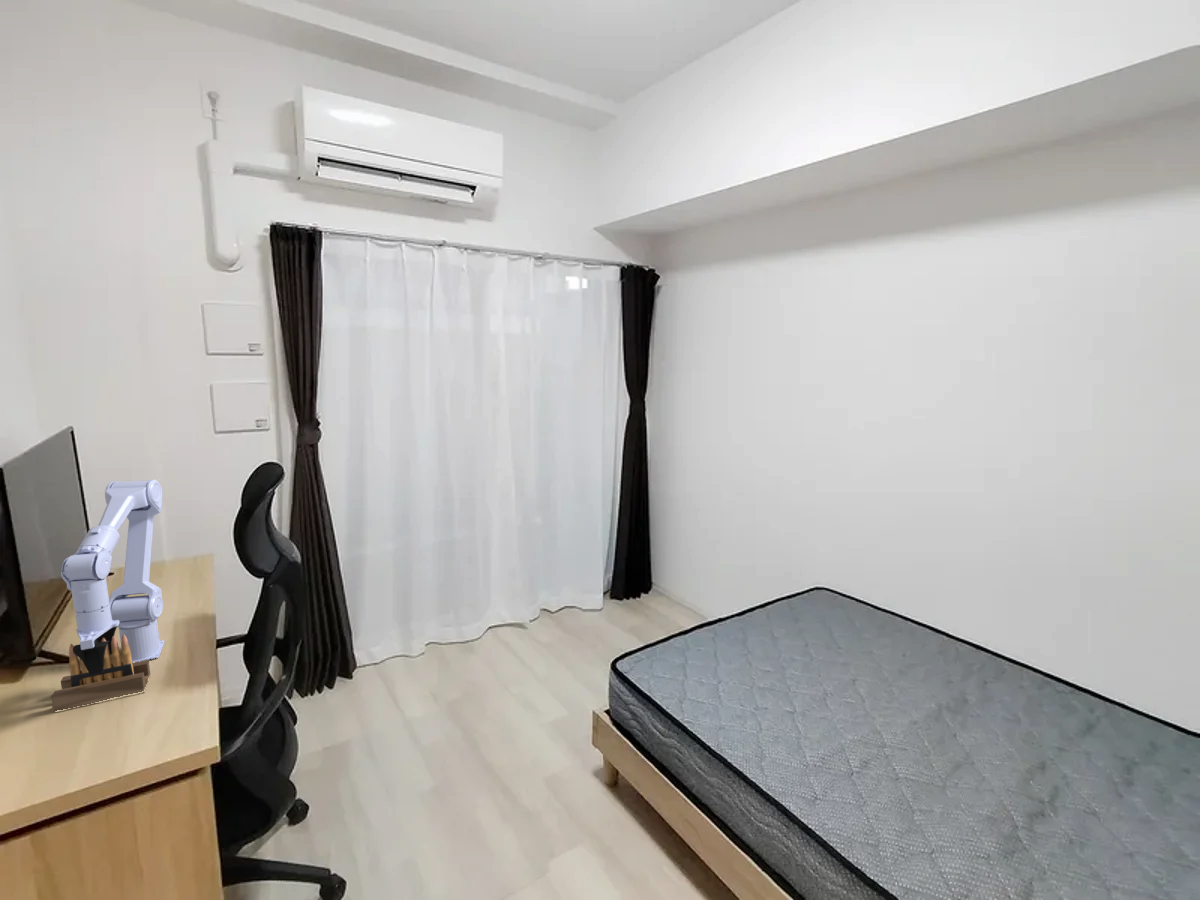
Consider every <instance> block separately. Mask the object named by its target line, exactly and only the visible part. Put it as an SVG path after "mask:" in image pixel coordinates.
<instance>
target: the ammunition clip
mask: <svg viewBox="0 0 1200 900" xmlns="http://www.w3.org/2000/svg"><path fill="white" fill-rule="evenodd" d="M104 641H106V640H105V639H104V638H103V639H102V641H101V642H104ZM121 645H122V649H121V651H120V646H121ZM74 646H75V645H73V643H70V645H69V647H68V648H69V649H68V657H69V658H68V659H69V663H68V665H69V666H68V667H69V671H70V672H69V673H70V675H71V687H76V686H80V685H85V684H90V683H95V682H99V681H104V680H109V679H114V678H119V677H123V676H128V675H133V674H135V671H134V667H133V662H132V657H131V651H130V649H129V645H128V640H127V638H126V636H125V635H124V634H123V635H122V639H121V642H120V646H119V643H118V639H117V638H116V636H115V635H114V636H113V637H112V641H111V648H112V654H111V655H110V652H109V649H108V644H107V647H106V650H105V655H104V669H103V672H102V673H97V674H92V675H90V674H89V672H88V670H87V669H86V667H85V665H84V663H83V661H82V660H81V659H80V658H79V657H78V656H77V655H75V654H74V653H73V647H74ZM121 656H122V658H121ZM113 672H114V674H113ZM103 675H104V676H103ZM82 679H83V681H82ZM93 679H94V681H93Z"/></svg>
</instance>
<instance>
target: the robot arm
mask: <svg viewBox="0 0 1200 900" xmlns="http://www.w3.org/2000/svg"><path fill="white" fill-rule="evenodd" d="M162 488H163V487H162V486H161V484H160V482H159V481H158V480H156V479H149V480H128V481H127V480H126V481H124V480H123V481H118V480H117V481H116V480H112V481H110V482H109V483H108V484H107V486H106V487H105V490H104V498H105V502H106V507H105V509H104V511H103V513H102V516H101V518H100V521H99V523H98V525H97V526H94V527H91V528H90V529H89V530H88V531H87V532H86V535H85V536H84V538H83V540H82V542H81V543H80V545H79V546H78V547H77V548H78V549H77V550H76V552H75V553H74V554H72V555H69V556H68V557H67V558H65V559H64V560H63V562H62V565H61V572H60V576H61V579H62V580H63V581H64V582H65V584H66V589H67V590H68V591H71V596H72V603H73V608H74V609H73V610H74V616H75V622H76V627H77V628H76V634H77V636H78V638H79V639H80V640H79V644H75V645H74V647H73V653H74V654H75V655H77V657H78V659H79V660H80V659H81V660H82V661H83V663H84V665H85V667H86V669H87V670H88V672H89V674H90V675H92V674H97V673H102V672H103V669H104V655H105V650H106V647H107V644H108V649H109V652H110V655H111V654H112V648H111V641H112V637H113V636H114V637H115V634H116V631H117V628H118V633H119V641H120V643H121V639H122V635H123V634H124V635H125V636H126V638H127V640H128V645H129V649H130V651H131V657H132V662H139V661H145V660H149V661H150V659H151V660H156V659H158V657H159V658H160V656H161V652H162V650H163V648H164V644H165V639H162V640H161V639H160V633H159V625H158V618H160V616H161V615H162V614H163V613H162V612H163V610H164V600H163V593H162V588H161V587H159V586H158V585H156V584H154V583H152V582H151V581H150V575H151V573H150V572H151V559H152V547H153V546H152V545H153V534H154V523H155V516H157V515H158V514H160V513H161V511H162V506H163V495H164V494H163V489H162ZM126 519H127V520H128V527H127V528H128V529H127V539H126V550H125V562H124V575H123V583H122V584H121V585H119V586H118V587H117V588H116V589H114V590H113V591H111V593H110V597H109V591H108V589H109V588H108V583H107V582H108V581H107V577H108V576H109V574H110V571H111V565H112V560H113V556H112V554H113V552H114V549H115V548H116V546H117V544H118V542H119V540H120V538H121V537H120V536H121V535H120V533H119V532H118V531H119V529H120V528H121V526H122V524H123V522H124V521H125V520H126ZM131 595H133V596H131ZM134 595H135V596H134ZM103 638H104V639H105V640H106V641H104V642H101V641H102V639H103ZM120 647H121V650H122V645H121V644H120ZM121 658H122V655H121ZM155 658H156V659H155Z"/></svg>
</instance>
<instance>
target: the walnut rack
mask: <svg viewBox="0 0 1200 900" xmlns="http://www.w3.org/2000/svg"><path fill="white" fill-rule="evenodd" d="M133 667H134V671H135V674H133V675H128V676H123V677H119V678H114V679H109V680H104V681H99V682H95V683H90V684H85V685H80V686H76V687H71V674H70V675H65V676H62V678H61V680H60V686H61V688H60V689H57V690H54V691H53V693H52V694H51V700H52V706H53V712H54V711H57V710H63V709H68V708H73V707H77V706H82V705H87V704H91V703H95V702H99V701H103V700H107V699H110V698H114V697H120V696H123V695H128V694H133V693H138V692H142V691H144V689H145V687H146V684H147V682H148V683H149V681H148V678H149V676H150V675H151V669H150V660H145V661H140V662H135V663H133ZM113 674H114V672H113ZM103 676H104V675H103ZM150 677H151V676H150ZM149 679H150V678H149ZM82 681H83V679H82ZM93 681H94V679H93ZM147 685H148V684H147ZM146 688H147V687H146ZM145 690H146V689H145Z"/></svg>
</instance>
